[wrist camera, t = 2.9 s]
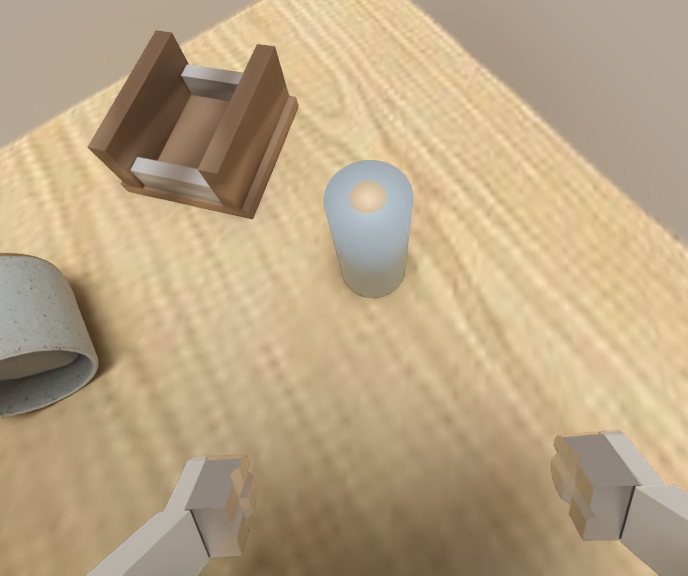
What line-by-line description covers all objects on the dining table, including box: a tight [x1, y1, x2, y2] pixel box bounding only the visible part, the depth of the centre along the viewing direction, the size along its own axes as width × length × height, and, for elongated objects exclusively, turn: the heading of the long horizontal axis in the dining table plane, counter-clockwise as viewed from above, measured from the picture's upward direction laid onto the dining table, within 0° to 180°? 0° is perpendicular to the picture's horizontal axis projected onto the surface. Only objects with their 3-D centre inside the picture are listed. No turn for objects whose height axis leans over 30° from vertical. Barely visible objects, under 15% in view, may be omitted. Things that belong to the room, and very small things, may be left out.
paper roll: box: [324, 160, 413, 298], centre depth 24 cm, size 4×4×9 cm
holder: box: [88, 31, 298, 219], centre depth 31 cm, size 11×11×6 cm
